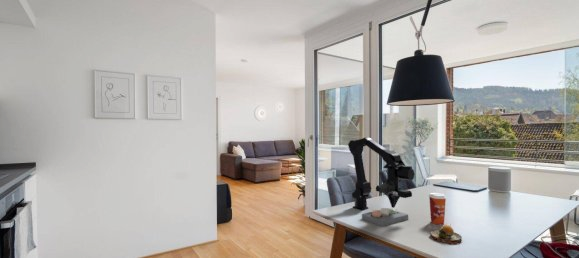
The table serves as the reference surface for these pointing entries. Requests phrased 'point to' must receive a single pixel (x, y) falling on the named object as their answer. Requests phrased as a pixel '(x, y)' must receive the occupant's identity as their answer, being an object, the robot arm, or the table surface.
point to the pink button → (376, 214)
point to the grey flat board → (385, 218)
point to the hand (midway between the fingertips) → (393, 207)
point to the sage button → (393, 211)
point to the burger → (446, 235)
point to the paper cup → (437, 208)
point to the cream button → (384, 211)
